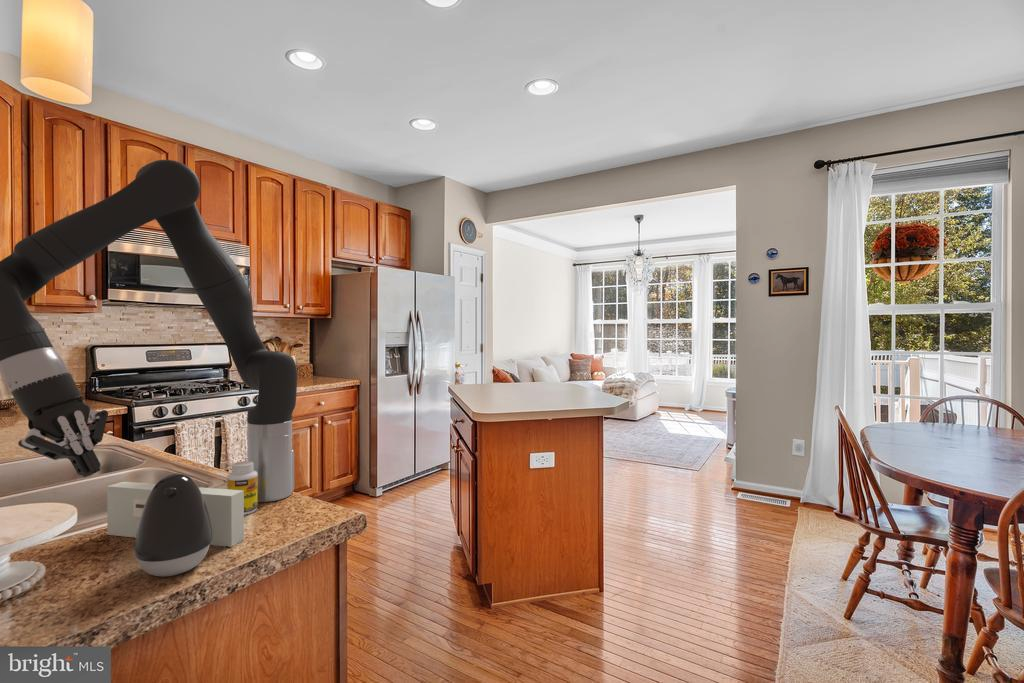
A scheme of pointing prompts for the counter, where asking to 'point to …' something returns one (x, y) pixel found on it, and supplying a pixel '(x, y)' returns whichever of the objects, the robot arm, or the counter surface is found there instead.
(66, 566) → the counter surface
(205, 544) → the dark grey egg device
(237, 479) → the supplement bottle
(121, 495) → the rectangular box with label
